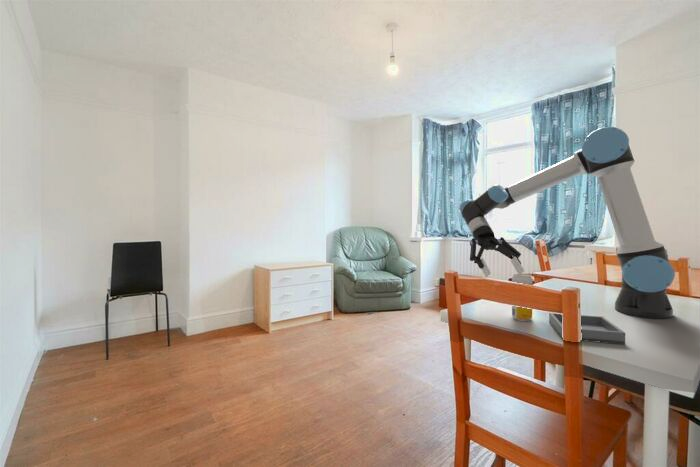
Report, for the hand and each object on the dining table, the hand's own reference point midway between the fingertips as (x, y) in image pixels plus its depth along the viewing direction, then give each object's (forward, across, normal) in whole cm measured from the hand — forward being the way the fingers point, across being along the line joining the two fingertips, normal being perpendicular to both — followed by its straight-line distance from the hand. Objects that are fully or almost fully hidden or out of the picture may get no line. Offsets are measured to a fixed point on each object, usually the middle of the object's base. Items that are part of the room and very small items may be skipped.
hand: (505, 273), depth 116 cm
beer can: (+16, -1, -4) cm, 16 cm away
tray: (+26, -9, +7) cm, 29 cm away
